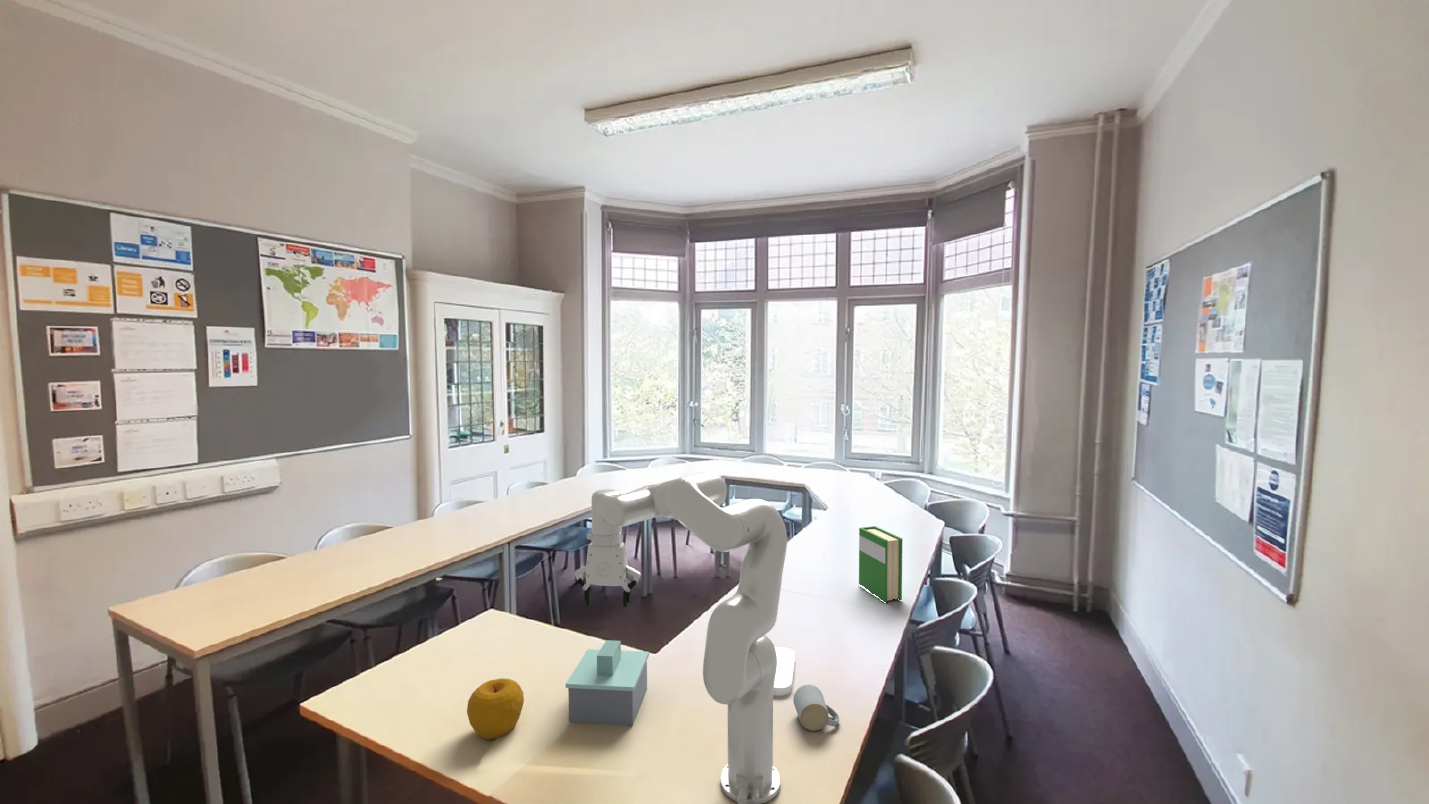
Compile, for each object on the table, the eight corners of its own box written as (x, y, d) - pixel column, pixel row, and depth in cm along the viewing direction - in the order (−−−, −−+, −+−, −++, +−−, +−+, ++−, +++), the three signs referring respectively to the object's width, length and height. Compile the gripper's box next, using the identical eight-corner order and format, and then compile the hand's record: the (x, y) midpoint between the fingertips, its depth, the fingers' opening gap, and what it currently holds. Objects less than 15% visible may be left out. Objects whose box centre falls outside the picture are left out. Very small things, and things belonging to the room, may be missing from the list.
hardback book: (901, 601, 209) (902, 538, 208) (884, 603, 207) (885, 540, 206) (874, 584, 226) (875, 526, 225) (858, 586, 224) (859, 527, 223)
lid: (634, 697, 134) (633, 667, 133) (565, 693, 135) (565, 663, 135) (649, 660, 151) (648, 633, 150) (588, 658, 152) (587, 631, 152)
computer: (790, 698, 148) (790, 688, 148) (710, 689, 152) (710, 680, 152) (795, 657, 169) (795, 648, 169) (724, 650, 174) (724, 642, 174)
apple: (457, 735, 133) (455, 689, 133) (503, 708, 144) (502, 665, 143) (489, 755, 126) (488, 707, 125) (536, 725, 137) (535, 680, 136)
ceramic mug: (800, 734, 133) (800, 703, 132) (792, 713, 141) (793, 684, 141) (843, 732, 134) (844, 701, 133) (833, 711, 142) (834, 682, 141)
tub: (633, 729, 135) (632, 689, 134) (569, 726, 136) (568, 686, 136) (647, 692, 151) (646, 656, 150) (590, 689, 152) (589, 653, 152)
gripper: (568, 542, 138) (569, 609, 139) (636, 544, 137) (637, 612, 138) (579, 533, 146) (580, 597, 147) (643, 535, 144) (644, 599, 145)
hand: (607, 604), depth 142 cm, fingers open, 9 cm apart
